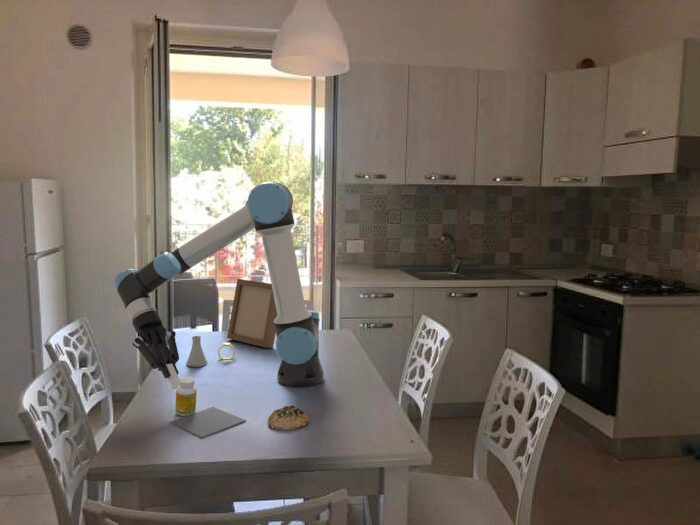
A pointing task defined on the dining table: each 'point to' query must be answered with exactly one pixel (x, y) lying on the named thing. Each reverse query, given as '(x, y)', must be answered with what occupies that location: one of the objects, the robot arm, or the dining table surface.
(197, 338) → the flask
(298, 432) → the dining table surface
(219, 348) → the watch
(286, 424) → the bread roll
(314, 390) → the dining table surface
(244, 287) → the photo frame
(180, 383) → the supplement bottle
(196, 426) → the mat
